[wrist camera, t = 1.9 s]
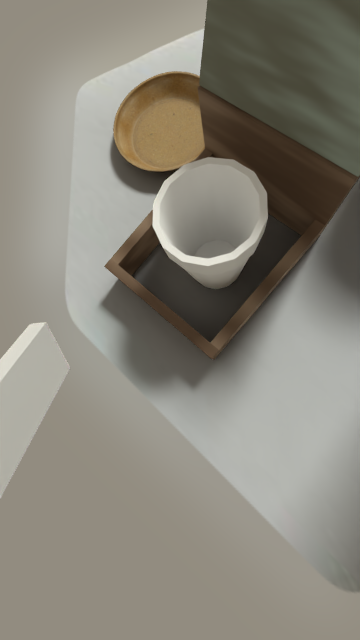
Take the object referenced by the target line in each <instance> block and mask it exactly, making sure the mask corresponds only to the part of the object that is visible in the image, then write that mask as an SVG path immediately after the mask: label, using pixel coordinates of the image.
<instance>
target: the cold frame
mask: <svg viewBox="0 0 360 640" xmlns="http://www.w3.org/2000/svg"><path fill="white" fill-rule="evenodd" d="M199 85H200V86H199V87H198V96H199V104H200V112H201V120H202V128H203V136H204V144H205V149H204V150H203V151H202V152H201V153H200V155H199V156H198V157H197V158H196V159H195V160H194V161H197V160H201V159H204V158H207V157H213V158H223V159H233V160H235V161H237V162H238V163H240V164H242V165H243V166H245V167H247V168H249V169H250V170H252V171H254V172H255V174H256V175H257V177H258V179H259V180H260V182H261V184H262V185H263V187H264V189H265V190H266V192H267V208H268V214H270V215H271V216H273V217H274V218H276V219H277V220H279V221H280V222H282V223H283V224H285V225H286V226H288V227H289V228H291V229H292V230H294V231H295V232H297V233H298V234H300V235H301V237H300V238H299V239H298V240H297V241H296V243H295V244H294V245H293V246H292V247H291V248H290V250H289V251H288V252H287V253H286V254H285V255H284V257H283V258H282V259H281V260H280V261H279V263H278V264H277V265H276V266H275V267H274V268H273V270H272V271H271V272H270V273H269V274H268V275H267V277H266V278H265V279H264V280H263V281H262V283H261V284H260V285H259V286H258V287H257V288H256V290H255V291H254V292H253V293H252V294H251V295H250V297H249V298H248V299H247V300H246V301H245V303H244V304H243V305H242V306H241V307H240V308H239V310H238V311H237V312H236V313H235V314H234V315H233V317H232V318H231V319H230V320H229V321H228V323H227V324H226V325H225V326H224V327H223V328H222V330H221V331H220V332H219V333H218V334H217V335H216V337H215V338H214V339H213V340H212V341H211V343H210V342H209V341H208V340H207V339H205V338H204V337H203V336H202V335H201V334H199V333H198V332H197V331H196V330H195V329H194V328H192V327H191V326H190V325H189V324H188V323H186V322H185V321H184V320H183V319H182V318H181V317H179V316H178V315H177V314H176V313H175V312H173V311H172V310H171V309H170V308H169V307H168V306H166V305H165V304H164V303H163V302H162V301H160V300H159V299H158V298H157V297H156V296H155V295H153V294H152V293H151V292H150V291H149V290H147V289H146V288H145V287H144V286H143V285H142V284H140V283H139V282H138V281H137V280H136V279H134V278H133V277H132V275H133V274H134V272H135V271H136V270H137V269H138V268H139V267H140V265H141V264H142V263H143V262H144V261H145V259H146V258H147V257H148V256H149V255H150V254H151V252H152V251H153V250H154V249H155V248H156V247H157V245H158V244H159V243H160V241H159V239H158V236H157V234H156V232H155V230H154V228H153V226H152V225H153V210H152V211H151V212H150V213H149V214H148V216H147V217H146V218H145V219H144V220H143V221H142V223H141V224H140V225H139V226H138V227H137V229H136V230H135V231H134V232H133V233H132V234H131V236H130V237H129V238H128V239H127V240H126V241H125V243H124V244H123V245H122V246H121V247H120V248H119V250H118V251H117V252H116V253H115V254H114V255H113V257H112V258H111V259H110V260H109V261H108V263H107V264H106V265H105V266H104V267H106V268H107V269H108V270H109V271H110V272H111V273H113V274H114V275H115V276H116V277H117V278H118V279H119V280H121V281H122V282H123V283H124V284H125V285H126V286H128V287H129V288H130V289H131V290H132V291H133V292H135V293H136V294H137V295H138V296H139V297H140V298H142V299H143V300H144V301H145V302H146V303H147V304H148V305H150V306H151V307H152V308H153V309H154V310H155V311H157V312H158V313H159V314H160V315H161V316H162V317H164V318H165V319H166V320H167V321H168V322H169V323H171V324H172V325H173V326H174V327H175V328H176V329H177V330H179V331H180V332H181V333H182V334H183V335H184V336H186V337H187V338H188V339H189V340H190V341H191V342H193V343H194V344H195V345H196V346H197V347H198V348H200V349H201V350H202V351H203V352H204V353H205V354H206V355H208V356H209V357H210V358H211V359H213V360H215V358H216V357H217V356H218V355H219V354H220V353H221V351H222V350H223V349H224V348H225V347H226V345H227V344H228V343H229V342H230V341H231V340H232V338H233V337H234V336H235V335H236V334H237V333H238V331H239V330H240V329H241V328H242V327H243V325H244V324H245V323H246V322H247V321H248V320H249V318H250V317H251V316H252V315H253V314H254V313H255V311H256V310H257V309H258V308H259V307H260V305H261V304H262V303H263V302H264V301H265V300H266V298H267V297H268V296H269V295H270V294H271V293H272V291H273V290H274V289H275V288H276V287H277V285H278V284H279V283H280V282H281V281H282V280H283V278H284V277H285V276H286V275H287V274H288V272H289V271H290V270H291V269H292V268H293V267H294V265H295V264H296V263H297V262H298V261H299V260H300V258H301V257H302V256H303V255H304V254H305V252H306V251H307V250H308V249H309V248H310V247H311V245H312V244H313V243H314V242H315V241H316V240H317V238H318V237H319V236H320V235H321V233H322V232H323V230H324V229H325V227H326V226H327V224H328V223H329V221H330V220H331V218H332V217H333V215H334V214H335V212H336V211H337V210H338V208H339V207H340V205H341V204H342V202H343V201H344V199H345V198H346V196H347V195H348V193H349V192H350V190H351V189H352V187H353V186H354V184H355V183H356V182H357V180H358V179H359V177H360V0H208V1H207V11H206V21H205V30H204V40H203V50H202V60H201V70H200V80H199Z"/></svg>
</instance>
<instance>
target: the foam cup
mask: <svg viewBox="0 0 360 640" xmlns="http://www.w3.org/2000/svg"><path fill="white" fill-rule="evenodd" d="M267 219H268V208H267V192H266V190H265V189H264V187H263V185H262V184H261V182H260V180H259V179H258V177H257V175H256V174H255V172H254V171H252V170H250V169H249V168H247V167H245V166H243V165H242V164H240V163H238V162H237V161H235V160H233V159H223V158H213V157H207V158H204V159H201V160H197V161H194V162H191V163H188V164H185V165H183V166H182V167H181V168H179V169H178V170H177V171H176V172H175V173H173V174H172V175H171V176H170V177H169V178H167V179H166V180H165V181H164V183H163V185H162V187H161V188H160V190H159V192H158V194H157V196H156V198H155V200H154V202H153V225H152V226H153V228H154V230H155V232H156V234H157V236H158V239H159V241H160V243H161V245H162V247H163V249H164V250H165V252H166V254H167V255H168V257H169V258H170V259H171V260H173V261H174V262H175V263H177V264H178V265H179V266H181V267H182V268H183V269H185V270H186V271H187V272H188V273H189V274H190V275H191V276H192V277H193V278H194V279H195V280H197V281H198V282H199V283H200V284H202V285H203V286H204V287H207V288H212V289H220V288H224V287H228V286H229V285H230V284H231V283H233V282H234V281H235V280H237V278H238V277H239V275H240V273H241V271H242V269H243V267H244V266H245V264H246V262H247V260H248V258H249V257H250V256H251V255H252V254H254V252H255V250H256V248H257V246H258V244H259V242H260V240H261V238H262V236H263V234H264V231H265V227H266V223H267Z"/></svg>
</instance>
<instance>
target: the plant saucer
mask: <svg viewBox="0 0 360 640" xmlns="http://www.w3.org/2000/svg"><path fill="white" fill-rule="evenodd" d="M199 80H200V76H198V75H195V74H193V73H188V72H178V71H174V72H166V73H162V74H158V75H156V76H153V77H151V78H149V79H147V80H146V81H144V82H142V83H141V84H139V85H138V86H137V87H135V88H134V89H133V90H132V91H131V92H130V93H129V94H128V95H127V96H126V97H125V99H124V100H123V102H122V103H121V105H120V107H119V109H118V111H117V113H116V116H115V121H114V129H113V131H114V140H115V144H116V146H117V148H118V150H119V152H120V153H121V155H122V156H123V157H124V158H125V159H126V160H127V161H128V162H129V163H131V164H132V165H134V166H136V167H138V168H140V169H143V170H148V171H154V172H165V171H171V170H176V169H179V168H181V167H182V166H183V165H185V164H188V163H191V162H193V161H194V160H195V159H196V158H197V157H198V156H199V155H200V153H201V152H202V151H203V150H204V149H205V144H204V136H203V128H202V120H201V112H200V104H199V96H198V87H199V86H200V85H199Z"/></svg>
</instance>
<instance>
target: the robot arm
mask: <svg viewBox="0 0 360 640" xmlns="http://www.w3.org/2000/svg"><path fill="white" fill-rule="evenodd" d="M69 369H70V366H69V364H68V363H67V361H66V359H65V357H64V355H63V353H62V351H61V349H60V347H59V345H58V344H57V342H56V340H55V338H54V336H53V334H52V332H51V330H50V329H49V327H48V325H47V323H46V322H45V323H34V324H30V325H29V326H28V327H27V328H26V330H25V331H24V332H23V333H22V334H21V336H20V337H19V338H18V339H17V340H16V341H15V343H14V344H13V345H12V347H10V349H9V350H8V351H7V352H6V353H5V355H4V356H3V357H2V358H1V359H0V498H1V496H2V494H3V492H4V490H5V488H6V487H7V485H8V483H9V481H10V479H11V477H12V476H13V474H14V472H15V470H16V468H17V466H18V464H19V462H20V460H21V458H22V457H23V455H24V453H25V451H26V449H27V448H28V446H29V444H30V442H31V440H32V438H33V436H34V435H35V433H36V431H37V428H38V427H39V425H40V423H41V421H42V420H43V418H44V416H45V414H46V412H47V410H48V408H49V407H50V405H51V403H52V401H53V399H54V397H55V395H56V393H57V392H58V390H59V388H60V386H61V384H62V382H63V380H64V379H65V377H66V375H67V373H68V371H69Z"/></svg>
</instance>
